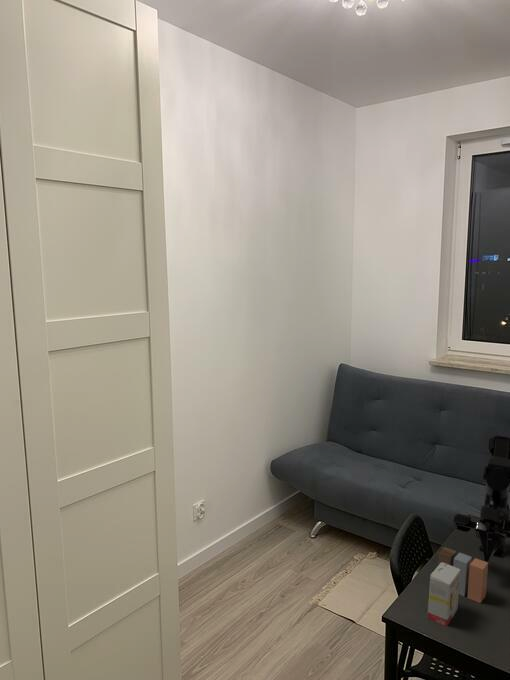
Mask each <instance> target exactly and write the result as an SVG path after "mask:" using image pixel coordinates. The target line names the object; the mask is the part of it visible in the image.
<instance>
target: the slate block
mask: <svg viewBox="0 0 510 680" xmlns="http://www.w3.org/2000/svg"><path fill="white" fill-rule="evenodd" d="M472 561H473V558H472V556H470V555H468V554H465V553H462V552H458V554H456V557H455V558H454V563H453V567H456V568H458V569H461V572H460V584H459V596H462V597H465V596H466V595H468V583H469V569H470V564H471V563H472Z"/></svg>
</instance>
